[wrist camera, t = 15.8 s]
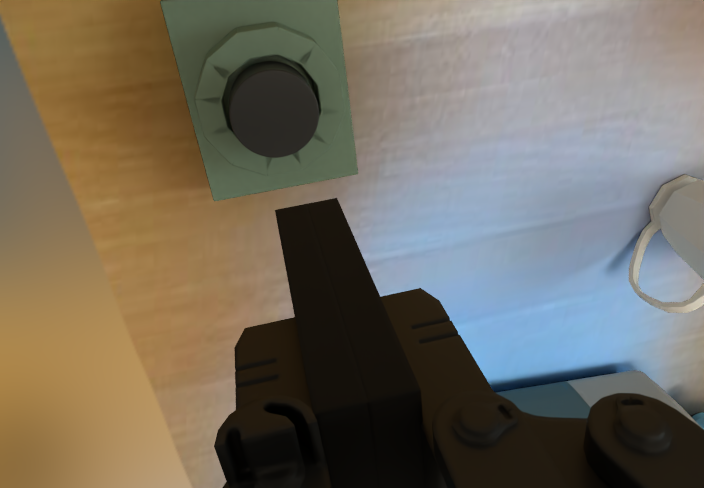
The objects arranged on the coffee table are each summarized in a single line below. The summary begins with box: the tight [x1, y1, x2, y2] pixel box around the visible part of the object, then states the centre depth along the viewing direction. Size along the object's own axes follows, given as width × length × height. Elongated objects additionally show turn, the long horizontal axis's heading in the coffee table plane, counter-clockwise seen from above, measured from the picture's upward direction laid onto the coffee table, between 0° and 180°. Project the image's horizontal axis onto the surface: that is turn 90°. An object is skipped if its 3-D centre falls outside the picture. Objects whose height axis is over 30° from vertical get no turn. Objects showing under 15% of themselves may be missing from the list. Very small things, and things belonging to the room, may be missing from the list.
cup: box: [629, 174, 704, 313], centre depth 36 cm, size 7×10×8 cm
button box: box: [160, 0, 358, 201], centre depth 28 cm, size 10×8×4 cm
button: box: [229, 61, 319, 158], centre depth 25 cm, size 4×4×2 cm
